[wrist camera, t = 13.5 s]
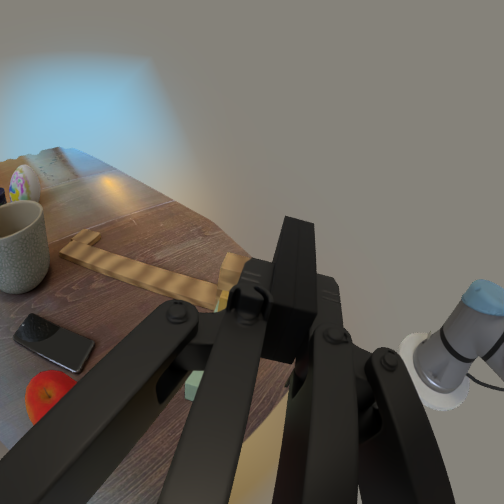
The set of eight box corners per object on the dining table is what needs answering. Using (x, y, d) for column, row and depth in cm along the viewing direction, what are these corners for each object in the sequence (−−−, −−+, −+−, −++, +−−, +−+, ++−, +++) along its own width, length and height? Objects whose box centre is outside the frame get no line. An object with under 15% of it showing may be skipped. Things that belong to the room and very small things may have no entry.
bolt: (247, 293, 51) (256, 254, 47) (232, 343, 41) (241, 303, 36) (231, 288, 51) (239, 249, 47) (213, 338, 41) (219, 297, 36)
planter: (34, 249, 54) (24, 194, 46) (68, 276, 51) (56, 212, 43) (-14, 280, 41) (-33, 223, 32) (12, 317, 37) (-14, 251, 29)
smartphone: (77, 373, 33) (11, 337, 32) (79, 377, 33) (13, 341, 33) (96, 340, 39) (30, 311, 38) (97, 344, 40) (32, 315, 39)
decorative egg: (6, 211, 65) (0, 170, 57) (29, 197, 75) (25, 158, 68) (24, 217, 65) (18, 172, 57) (48, 202, 75) (44, 160, 67)
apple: (53, 395, 29) (21, 348, 23) (105, 403, 31) (83, 359, 25) (46, 448, 21) (4, 414, 15) (104, 460, 24) (73, 432, 18)
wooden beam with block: (262, 284, 63) (274, 239, 57) (251, 328, 51) (266, 279, 45) (84, 233, 65) (81, 192, 59) (52, 260, 53) (43, 215, 47)
